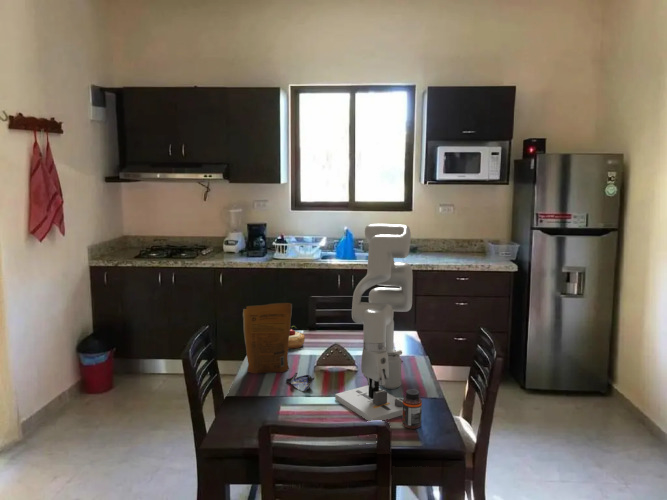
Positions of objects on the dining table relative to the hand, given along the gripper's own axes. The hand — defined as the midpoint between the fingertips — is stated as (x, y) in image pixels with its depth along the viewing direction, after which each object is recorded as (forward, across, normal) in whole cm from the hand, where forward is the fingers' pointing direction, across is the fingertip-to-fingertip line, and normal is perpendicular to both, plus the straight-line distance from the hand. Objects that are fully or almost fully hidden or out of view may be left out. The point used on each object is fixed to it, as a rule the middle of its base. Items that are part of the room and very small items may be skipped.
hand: (373, 397), depth 191 cm
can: (+4, +11, -16) cm, 20 cm away
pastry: (+4, +70, -7) cm, 71 cm away
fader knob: (+1, -4, 0) cm, 4 cm away
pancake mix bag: (+4, +48, +16) cm, 50 cm away
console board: (+3, +1, 0) cm, 3 cm away
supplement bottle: (+4, -17, -2) cm, 18 cm away
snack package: (+4, +29, +12) cm, 32 cm away
